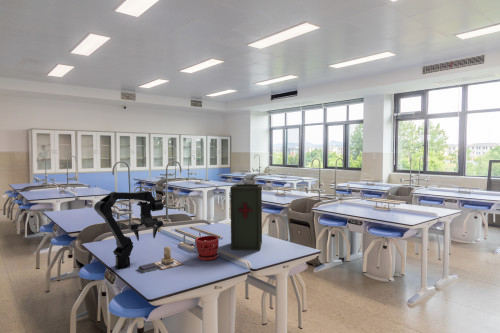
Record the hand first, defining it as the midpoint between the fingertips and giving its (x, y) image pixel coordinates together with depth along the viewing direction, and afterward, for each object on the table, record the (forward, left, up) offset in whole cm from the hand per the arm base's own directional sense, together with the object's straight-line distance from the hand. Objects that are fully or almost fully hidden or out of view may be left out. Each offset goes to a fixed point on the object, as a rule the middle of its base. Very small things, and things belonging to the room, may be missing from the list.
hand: (146, 239), depth 189 cm
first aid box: (+61, -16, -12) cm, 65 cm away
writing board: (+6, -15, -12) cm, 20 cm away
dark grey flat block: (-6, -15, -12) cm, 20 cm away
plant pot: (+28, -20, -12) cm, 37 cm away
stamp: (+6, -15, -11) cm, 20 cm away
